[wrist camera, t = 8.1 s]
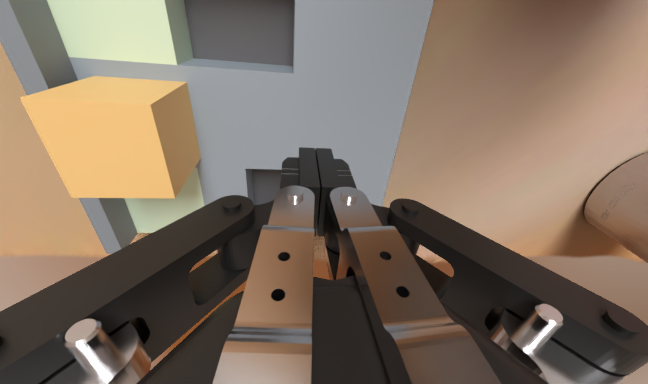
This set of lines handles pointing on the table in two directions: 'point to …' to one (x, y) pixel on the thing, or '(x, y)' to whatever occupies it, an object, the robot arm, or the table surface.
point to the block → (118, 136)
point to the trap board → (236, 85)
